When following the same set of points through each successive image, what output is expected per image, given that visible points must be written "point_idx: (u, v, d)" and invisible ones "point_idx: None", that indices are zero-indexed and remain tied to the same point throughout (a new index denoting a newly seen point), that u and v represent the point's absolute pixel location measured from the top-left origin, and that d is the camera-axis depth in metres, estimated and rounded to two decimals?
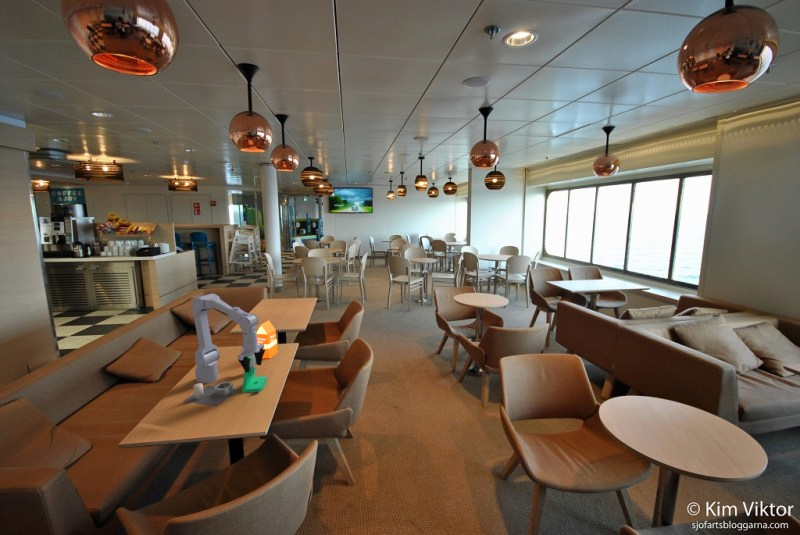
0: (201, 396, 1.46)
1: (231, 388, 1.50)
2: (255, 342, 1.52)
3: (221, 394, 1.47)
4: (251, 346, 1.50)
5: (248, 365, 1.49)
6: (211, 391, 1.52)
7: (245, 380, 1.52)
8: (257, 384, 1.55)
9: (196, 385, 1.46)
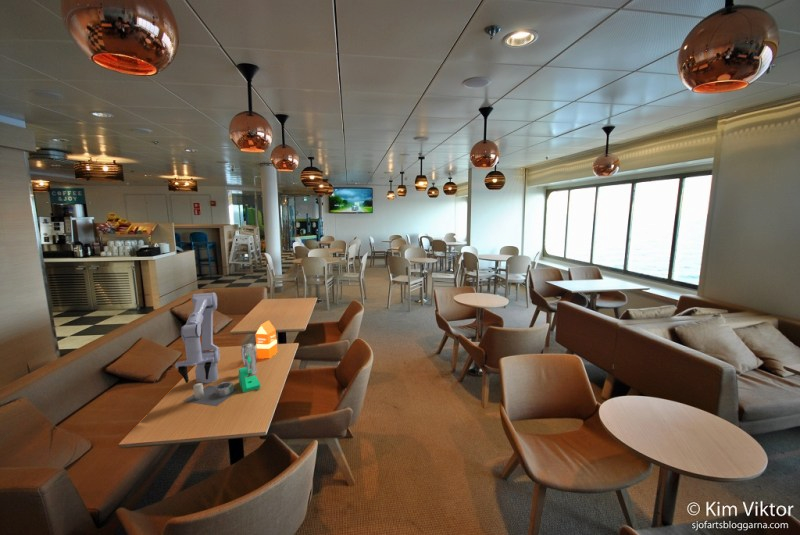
0: (201, 396, 1.46)
1: (231, 388, 1.50)
2: (192, 354, 1.41)
3: (221, 394, 1.47)
4: (187, 357, 1.42)
5: (183, 376, 1.42)
6: (211, 391, 1.52)
7: (243, 380, 1.52)
8: (254, 382, 1.56)
9: (196, 385, 1.46)
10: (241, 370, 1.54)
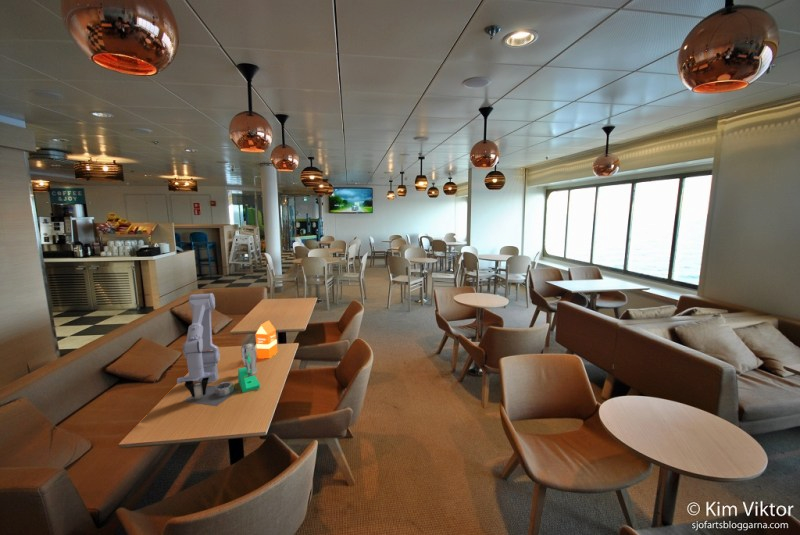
0: (201, 396, 1.46)
1: (231, 388, 1.50)
2: (194, 370, 1.42)
3: (221, 394, 1.47)
4: (189, 373, 1.43)
5: (190, 390, 1.44)
6: (211, 391, 1.52)
7: (242, 380, 1.52)
8: (253, 382, 1.56)
9: (196, 385, 1.46)
10: (240, 370, 1.53)
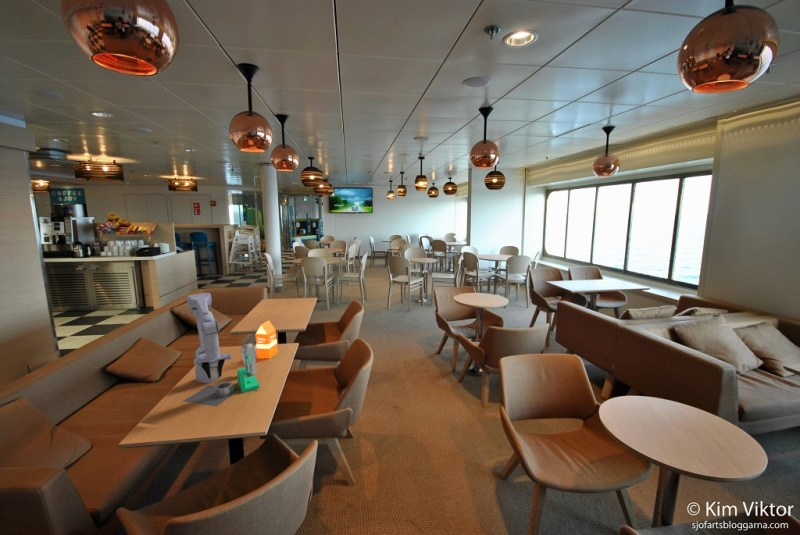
0: (217, 378, 1.47)
1: (231, 388, 1.50)
2: (210, 351, 1.44)
3: (221, 394, 1.47)
4: (206, 354, 1.44)
5: (206, 371, 1.45)
6: (211, 391, 1.52)
7: (242, 380, 1.52)
8: (252, 383, 1.56)
9: (212, 367, 1.47)
10: (240, 370, 1.53)
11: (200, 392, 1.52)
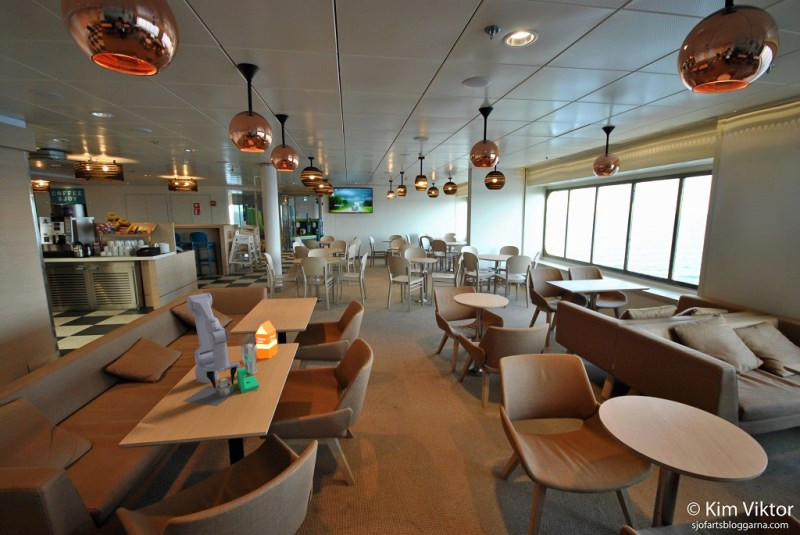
0: None
1: (231, 388, 1.50)
2: (219, 360, 1.46)
3: (221, 394, 1.47)
4: (215, 363, 1.46)
5: (212, 380, 1.47)
6: (211, 391, 1.52)
7: (241, 381, 1.51)
8: (252, 383, 1.56)
9: (221, 380, 1.49)
10: (239, 370, 1.53)
11: (200, 392, 1.52)
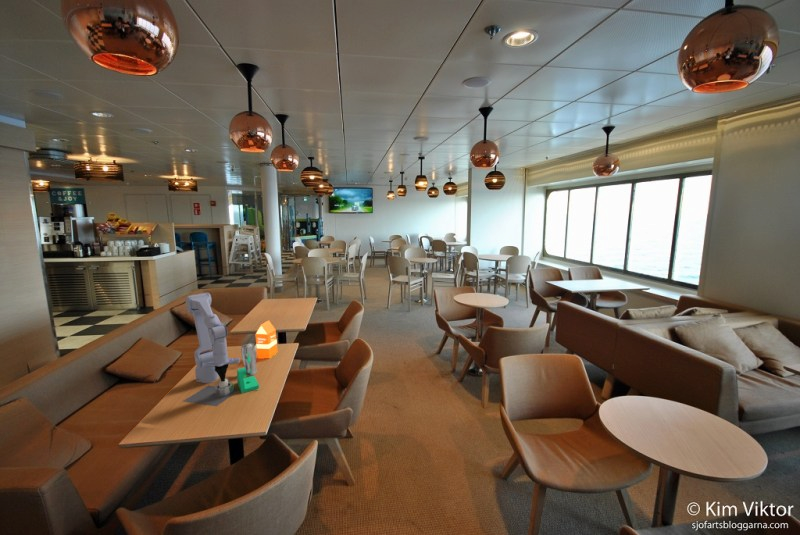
0: None
1: (231, 388, 1.50)
2: (219, 355, 1.45)
3: (221, 394, 1.47)
4: (214, 358, 1.46)
5: (219, 374, 1.47)
6: (211, 391, 1.52)
7: (241, 381, 1.51)
8: (252, 383, 1.56)
9: None
10: (239, 371, 1.53)
11: (200, 392, 1.52)
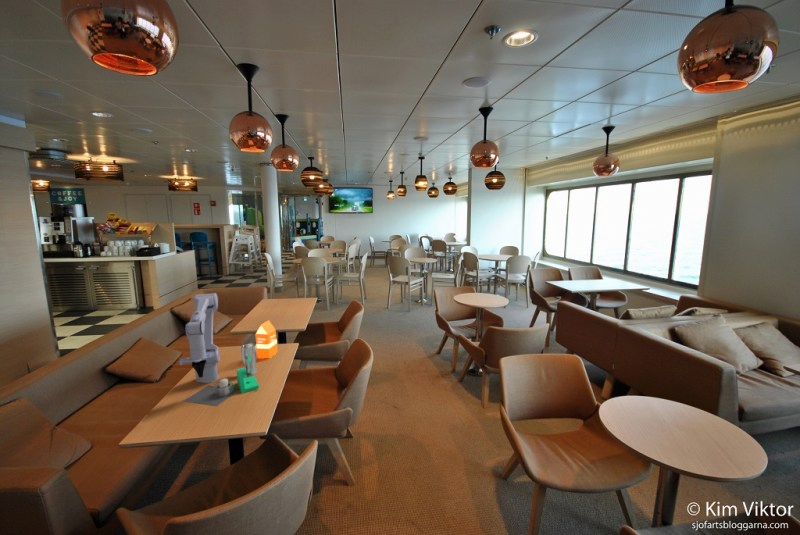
0: None
1: (231, 388, 1.50)
2: (196, 351, 1.44)
3: (221, 394, 1.47)
4: (191, 354, 1.45)
5: (197, 370, 1.47)
6: (211, 391, 1.52)
7: (241, 381, 1.51)
8: (252, 383, 1.56)
9: (221, 380, 1.49)
10: (239, 371, 1.53)
11: (200, 392, 1.52)
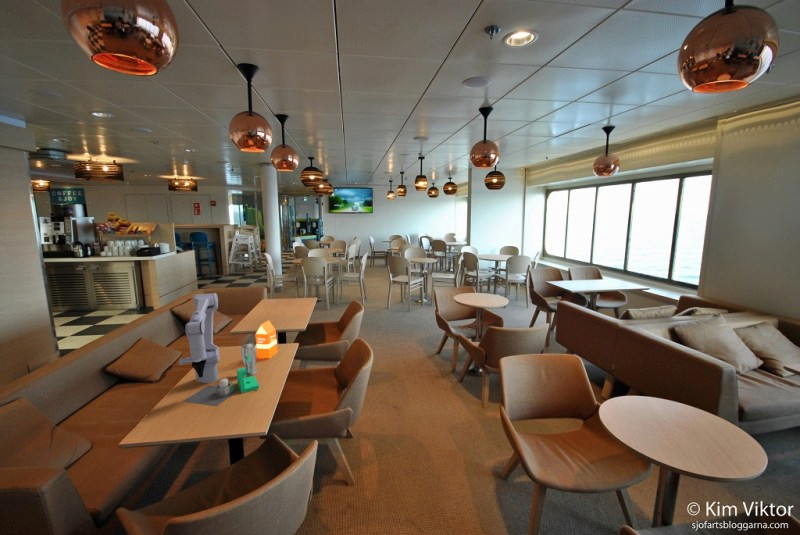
0: None
1: (231, 388, 1.50)
2: (196, 351, 1.44)
3: (221, 394, 1.47)
4: (191, 354, 1.45)
5: (197, 370, 1.47)
6: (211, 391, 1.52)
7: (241, 381, 1.51)
8: (252, 383, 1.56)
9: (221, 380, 1.49)
10: (239, 371, 1.53)
11: (200, 392, 1.52)
